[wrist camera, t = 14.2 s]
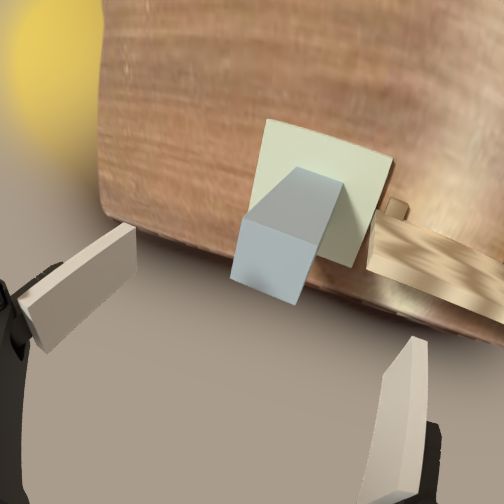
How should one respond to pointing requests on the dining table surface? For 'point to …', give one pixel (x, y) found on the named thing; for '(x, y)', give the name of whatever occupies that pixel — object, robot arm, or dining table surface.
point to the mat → (330, 165)
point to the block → (285, 234)
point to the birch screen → (434, 263)
